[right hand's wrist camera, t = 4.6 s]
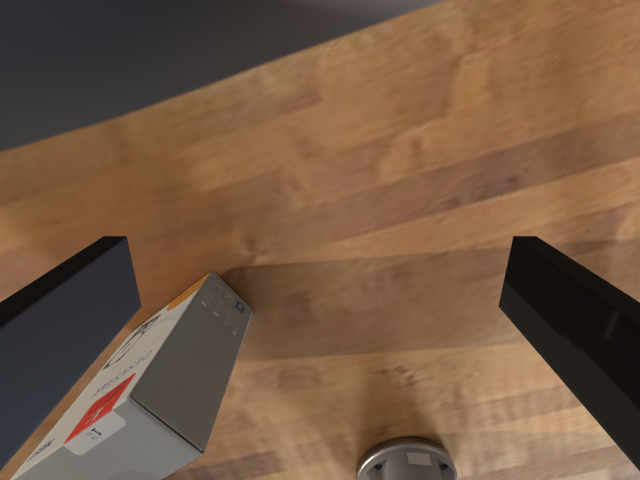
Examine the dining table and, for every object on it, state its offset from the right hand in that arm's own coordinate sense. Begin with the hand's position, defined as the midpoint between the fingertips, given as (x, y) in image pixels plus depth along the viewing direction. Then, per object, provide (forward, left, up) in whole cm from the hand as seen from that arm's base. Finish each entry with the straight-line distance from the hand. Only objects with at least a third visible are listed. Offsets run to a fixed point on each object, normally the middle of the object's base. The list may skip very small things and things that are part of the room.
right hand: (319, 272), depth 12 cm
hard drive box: (-21, +17, -28) cm, 39 cm away
